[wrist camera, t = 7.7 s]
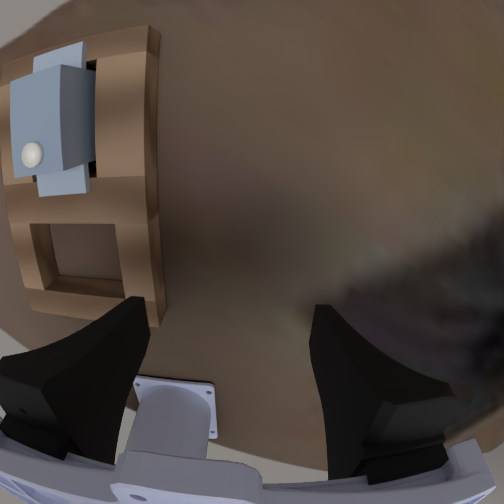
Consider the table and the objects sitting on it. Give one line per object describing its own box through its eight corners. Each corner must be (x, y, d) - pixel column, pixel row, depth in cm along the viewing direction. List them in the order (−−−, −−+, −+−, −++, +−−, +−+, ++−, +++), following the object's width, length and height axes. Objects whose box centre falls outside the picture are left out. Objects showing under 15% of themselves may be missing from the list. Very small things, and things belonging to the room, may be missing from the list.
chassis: (167, 308, 24) (159, 327, 21) (46, 295, 24) (32, 310, 21) (160, 34, 16) (148, 24, 13) (21, 66, 16) (1, 65, 13)
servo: (104, 49, 16) (57, 33, 11) (107, 182, 20) (62, 205, 14) (58, 61, 16) (7, 53, 11) (63, 185, 20) (13, 209, 14)
